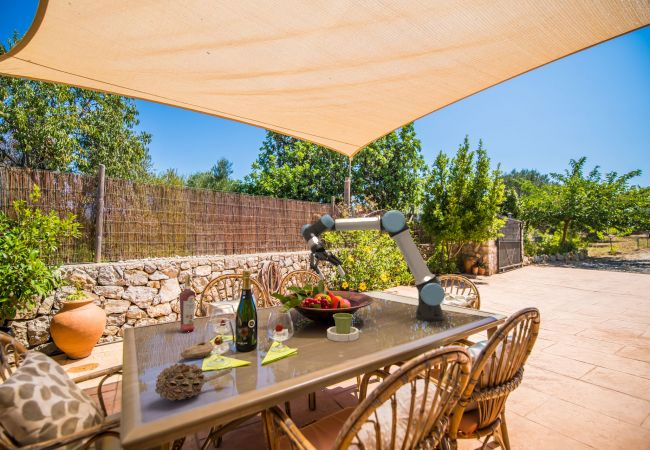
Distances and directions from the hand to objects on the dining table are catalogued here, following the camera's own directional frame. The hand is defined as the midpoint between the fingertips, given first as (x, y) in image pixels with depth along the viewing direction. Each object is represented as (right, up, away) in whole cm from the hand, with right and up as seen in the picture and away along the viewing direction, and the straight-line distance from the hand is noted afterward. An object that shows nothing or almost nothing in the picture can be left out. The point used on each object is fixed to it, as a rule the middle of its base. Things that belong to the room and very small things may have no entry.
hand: (333, 277), depth 163 cm
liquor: (-73, -26, -6) cm, 78 cm away
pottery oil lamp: (-54, -25, -40) cm, 72 cm away
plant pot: (+4, -24, -17) cm, 30 cm away
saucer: (+4, -25, -17) cm, 30 cm away
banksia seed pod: (-42, -23, -70) cm, 85 cm away
